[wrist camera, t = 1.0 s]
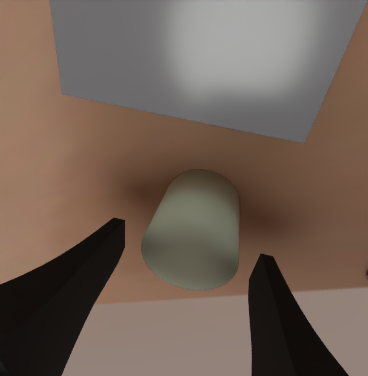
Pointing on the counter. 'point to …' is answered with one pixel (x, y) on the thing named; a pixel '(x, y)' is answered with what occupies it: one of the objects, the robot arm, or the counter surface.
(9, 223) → the counter surface
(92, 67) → the slate base
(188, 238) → the green cylinder
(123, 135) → the counter surface
